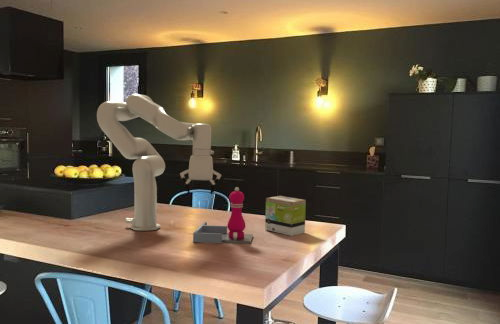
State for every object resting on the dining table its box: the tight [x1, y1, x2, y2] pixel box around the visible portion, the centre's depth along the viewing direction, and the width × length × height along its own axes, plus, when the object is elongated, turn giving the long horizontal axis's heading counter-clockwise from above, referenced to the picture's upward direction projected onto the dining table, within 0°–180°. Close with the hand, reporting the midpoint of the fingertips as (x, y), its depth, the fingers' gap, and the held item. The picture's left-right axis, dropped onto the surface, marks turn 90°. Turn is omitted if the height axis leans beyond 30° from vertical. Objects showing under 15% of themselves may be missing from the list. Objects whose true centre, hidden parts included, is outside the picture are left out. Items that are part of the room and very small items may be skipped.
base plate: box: [221, 232, 254, 245], centre depth 179 cm, size 12×12×4 cm
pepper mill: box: [226, 186, 246, 239], centre depth 179 cm, size 7×7×20 cm
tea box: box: [264, 195, 307, 237], centre depth 195 cm, size 15×10×15 cm
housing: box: [192, 221, 228, 244], centre depth 184 cm, size 11×23×4 cm, turn 175°
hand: (200, 193), depth 189 cm, fingers open, 9 cm apart
